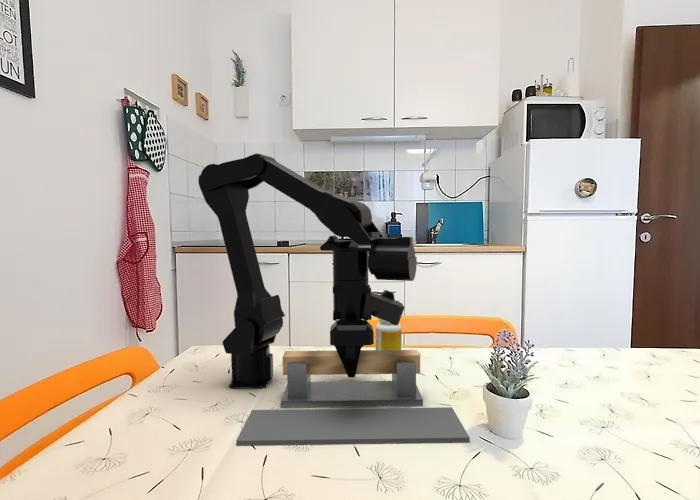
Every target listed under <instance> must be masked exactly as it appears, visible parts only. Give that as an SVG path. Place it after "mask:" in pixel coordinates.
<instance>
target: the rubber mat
mask: <svg viewBox="0 0 700 500" xmlns="http://www.w3.org/2000/svg"><path fill="white" fill-rule="evenodd" d="M470 442H471V437H470V436H469V434H468V432H467V431H466V429H465V427H464V425H463V424H462V422H461V421H460V418H459V417H458V415H457V413H456V412H455V410H454V409H453V407H446V406H445V407H438V406H437V407H379V408H378V407H376V408H374V407H372V408H368V407H365V408H364V407H361V408H308V409H307V408H303V409H302V408H299V409H293V408H292V409H289V408H288V409H286V408H285V409H252V410H251V411H250V412H249V415H248V417H247V419H246V421H245V422H244V425H243V427H242V429H241V431H240V432H239V435H238V437H237V439H236V442H235V443H236V444H235V445H236V446H269V445H270V446H273V445H274V446H276V445H280V446H283V445H286V446H287V445H289V446H290V445H293V446H295V445H334V444H335V445H347V444H348V445H349V444H350V445H354V444H356V445H357V444H415V443H416V444H417V443H418V444H421V443H422V444H423V443H424V444H429V443H431V444H432V443H470Z"/></svg>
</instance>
